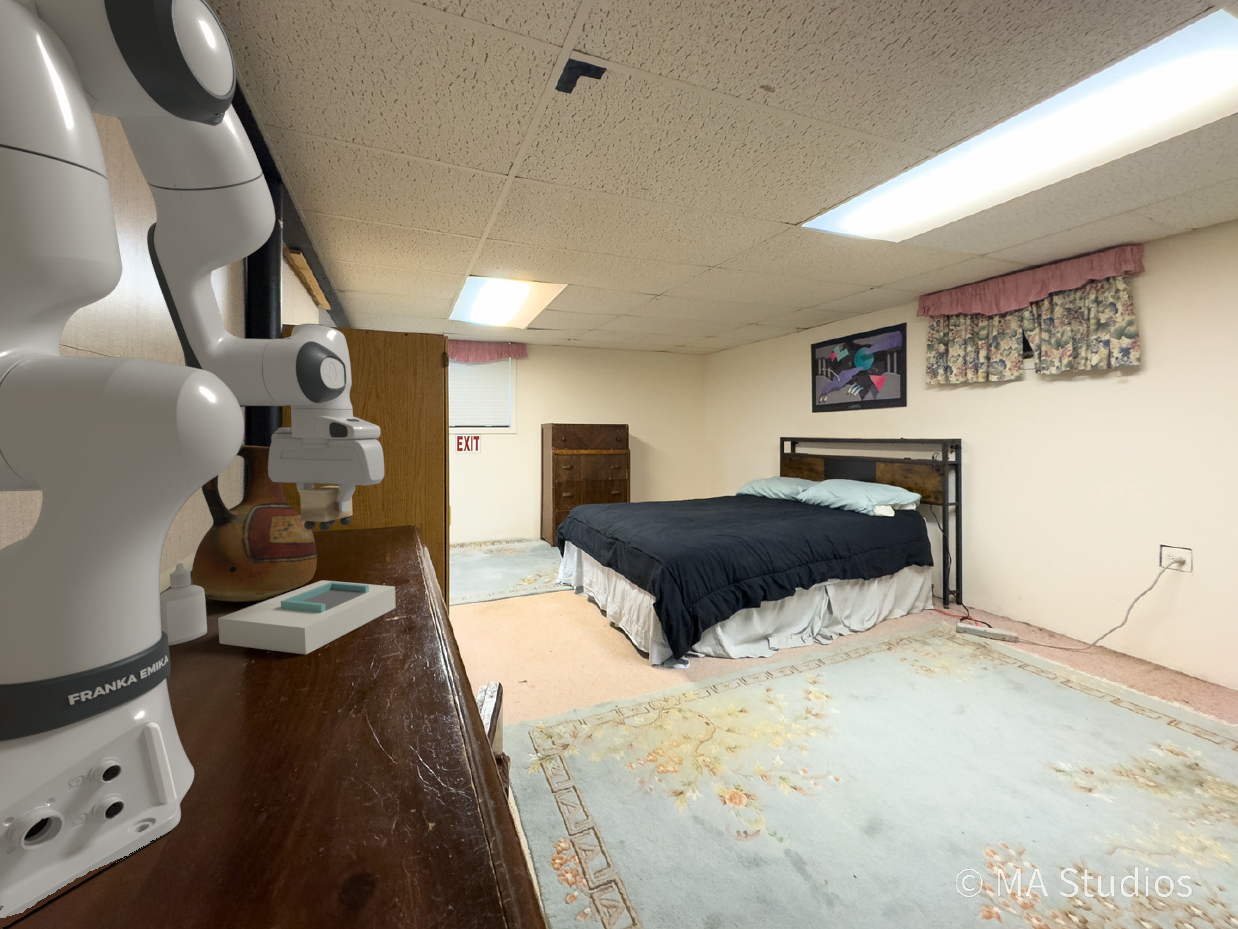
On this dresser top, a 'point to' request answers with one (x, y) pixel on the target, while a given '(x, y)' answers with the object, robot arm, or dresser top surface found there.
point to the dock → (306, 616)
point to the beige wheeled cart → (322, 507)
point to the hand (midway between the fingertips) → (327, 510)
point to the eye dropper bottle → (183, 608)
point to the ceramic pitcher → (253, 540)
